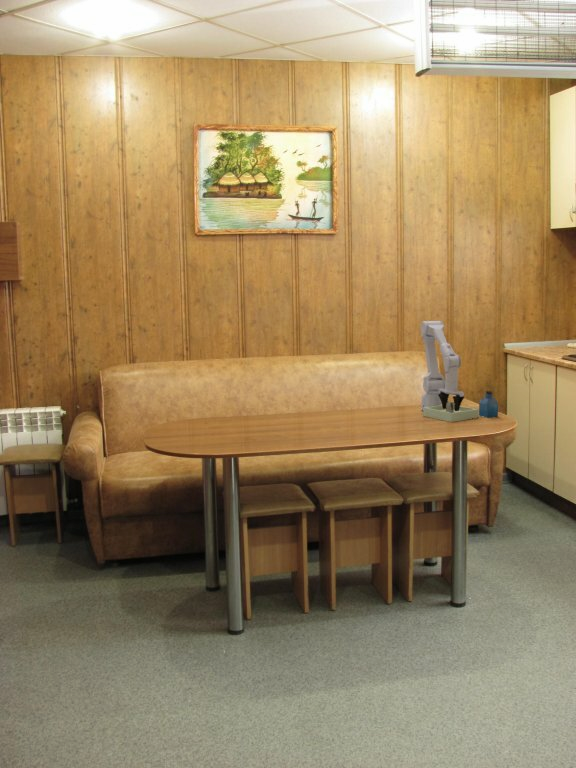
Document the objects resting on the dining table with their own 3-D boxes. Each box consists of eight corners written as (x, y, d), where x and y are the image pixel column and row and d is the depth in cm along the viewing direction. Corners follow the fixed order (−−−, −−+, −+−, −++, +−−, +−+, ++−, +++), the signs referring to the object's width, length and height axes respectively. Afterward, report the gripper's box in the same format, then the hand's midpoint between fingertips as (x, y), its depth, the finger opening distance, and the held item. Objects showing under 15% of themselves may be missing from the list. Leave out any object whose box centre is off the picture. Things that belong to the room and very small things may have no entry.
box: (423, 416, 381) (423, 407, 381) (449, 412, 392) (450, 403, 391) (451, 422, 367) (451, 413, 366) (478, 417, 377) (478, 409, 376)
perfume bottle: (478, 415, 382) (479, 390, 381) (489, 414, 385) (490, 389, 383) (487, 417, 377) (488, 392, 375) (497, 416, 379) (498, 391, 378)
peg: (444, 416, 380) (444, 402, 379) (450, 416, 381) (451, 401, 380) (448, 417, 377) (449, 403, 376) (455, 417, 378) (455, 402, 377)
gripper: (434, 380, 380) (433, 408, 382) (456, 383, 369) (456, 412, 371) (444, 378, 384) (444, 406, 386) (467, 382, 373) (466, 411, 375)
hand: (450, 409), depth 379 cm, fingers open, 7 cm apart
